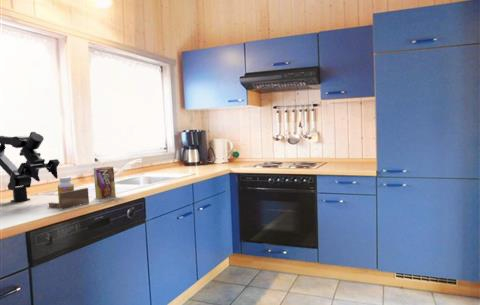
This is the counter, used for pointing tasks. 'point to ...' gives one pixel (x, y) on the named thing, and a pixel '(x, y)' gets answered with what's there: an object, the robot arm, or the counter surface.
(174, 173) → the counter surface
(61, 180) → the supplement bottle
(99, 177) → the candy box
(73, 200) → the brown rectangular box
